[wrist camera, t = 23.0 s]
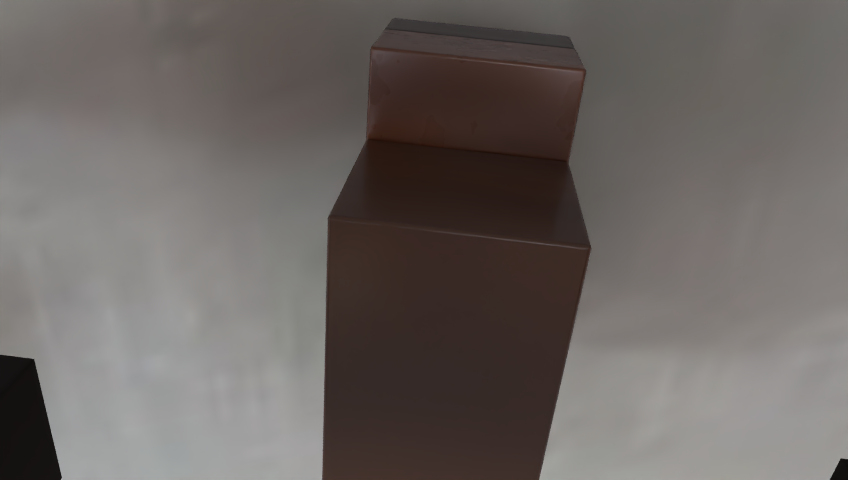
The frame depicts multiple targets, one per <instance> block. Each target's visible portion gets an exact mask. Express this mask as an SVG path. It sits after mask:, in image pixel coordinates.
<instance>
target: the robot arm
mask: <svg viewBox="0 0 848 480" xmlns="http://www.w3.org/2000/svg"><path fill="white" fill-rule="evenodd" d="M61 478H62V476H61V472H60V468H59V463H58V459H57V455H56V451H55V446H54V442H53V438H52V434H51V429H50V425H49V421H48V417H47V412H46V408H45V404H44V399H43V395H42V391H41V387H40V382H39V378H38V374H37V370H36V365H35V361H34V359H30V358H22V357H14V356H6V355H0V480H61ZM830 480H848V459H840V461H839V463H838V465H837V467H836V469H835V471H834V473H833V475H832V477H831V479H830Z"/></svg>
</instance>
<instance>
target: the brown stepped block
mask: <svg viewBox="0 0 848 480" xmlns="http://www.w3.org/2000/svg"><path fill="white" fill-rule="evenodd" d="M585 76H586V69H585V67H584V65H583V63H582V61H581V59H580V57H579V55H578V53H577V51H576V50H575V48H574V46H573V44H572V42H571V40H570V38H569V37H568V36H560V35H551V34H541V33H532V32H522V31H513V30H503V29H493V28H484V27H474V26H465V25H455V24H446V23H436V22H426V21H417V20H407V19H398V18H394V19H392V20H391V22H390V23H389V25H388V26H387V27H386V29H385V30H384V31H383V32H382V33H381V35H380V36H379V38H378V39H377V40H376V42H375V43H374V44H373V46H372V47H371V49H370V69H369V90H368V111H367V132H366V142H365V144H364V146H363V148H362V150H361V152H360V154H359V156H358V158H357V160H356V162H355V164H354V166H353V168H352V170H351V172H350V174H349V176H348V178H347V180H346V182H345V184H344V186H343V188H342V190H341V192H340V195H339V197H338V199H337V201H336V203H335V205H334V207H333V209H332V211H331V213H330V215H329V217H328V239H327V286H326V332H325V379H324V426H323V473H322V480H539V477H540V473H541V469H542V464H543V460H544V455H545V451H546V447H547V442H548V438H549V433H550V429H551V424H552V420H553V416H554V411H555V407H556V402H557V398H558V394H559V389H560V385H561V380H562V376H563V372H564V367H565V363H566V358H567V354H568V350H569V345H570V341H571V336H572V332H573V328H574V323H575V319H576V314H577V310H578V305H579V301H580V297H581V292H582V288H583V283H584V279H585V275H586V270H587V266H588V261H589V257H590V253H591V245H590V241H589V238H588V234H587V230H586V226H585V223H584V219H583V215H582V211H581V208H580V204H579V200H578V196H577V193H576V189H575V185H574V182H573V178H572V174H571V170H570V167H569V158H570V153H571V148H572V143H573V137H574V132H575V127H576V122H577V117H578V112H579V107H580V102H581V97H582V92H583V86H584V81H585Z"/></svg>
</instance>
